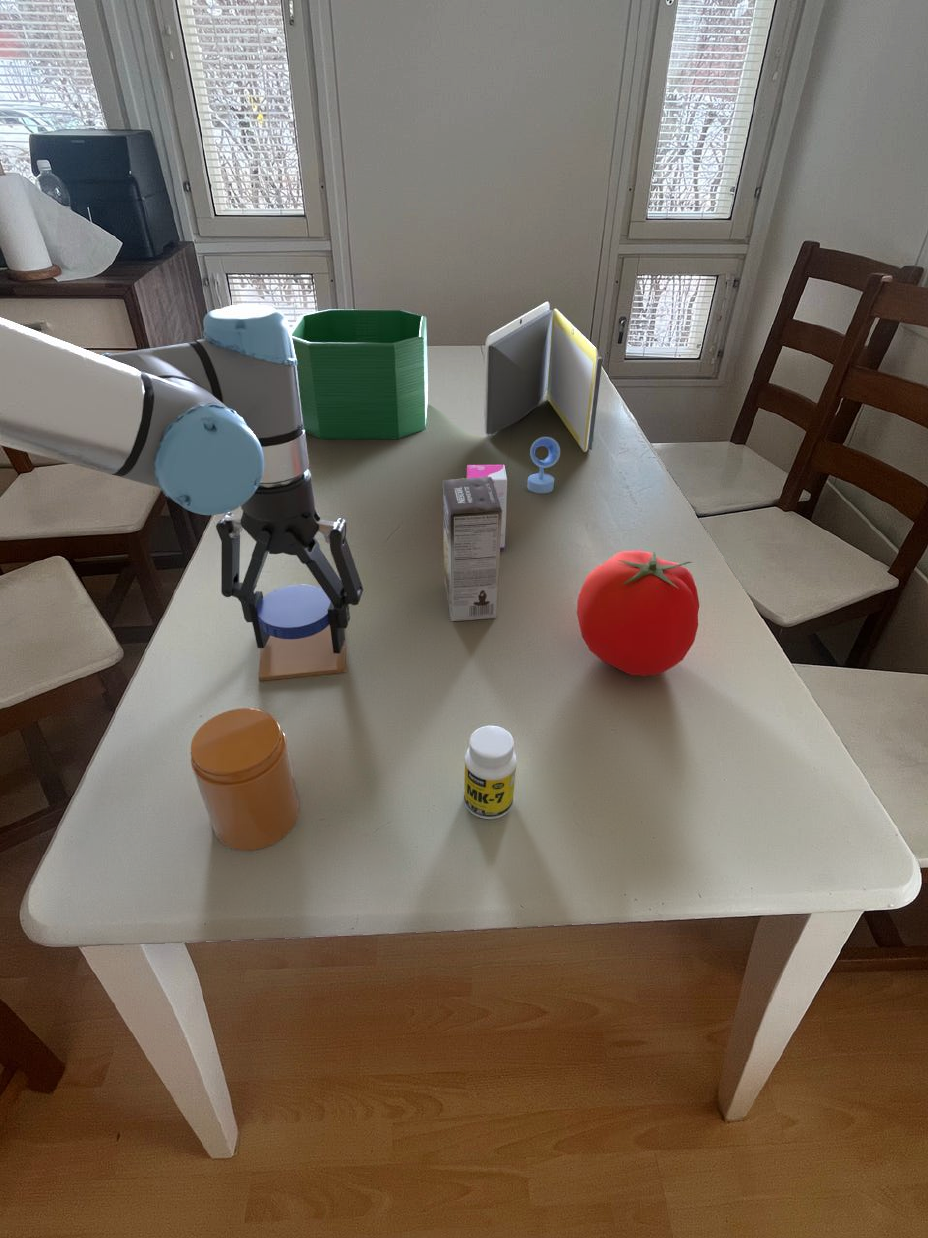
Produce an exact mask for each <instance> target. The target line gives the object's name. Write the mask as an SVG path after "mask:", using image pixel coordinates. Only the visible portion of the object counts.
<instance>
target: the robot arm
mask: <svg viewBox="0 0 928 1238" xmlns="http://www.w3.org/2000/svg"><path fill="white" fill-rule="evenodd" d="M202 322H203V323H202V324H203V331H202V336H203V338H201V339H197V340H193V341H190V342H186V343H178V344H171V345H165V346H164V345H163V346H157V347H150V348H143V349H137V350H130V351H124V352H116V353H109V352H104V353H102V354H98V353H95V352H93V351H90V350H87V349H85V348H82V347H79V346H77V345H75V344H71V343H69V342H66V341H64V340H61V339H58V338H56V337H53V336H51V335H48V334H45V333H43V332H40V331H38V330H35V329H33V328H29V327H27V326H25V325H21V324H19V323H16V322H14V321H11V320H8V319H6V318H4V317H1V316H0V446H2V447H6V448H10V449H13V450H16V451H17V450H18V451H22V452H25V453H29V454H32V455H37V456H39V457H43V458H48V459H52V460H55V461H58V462H63V463H66V464H70V465H74V466H77V467H81V468H86V469H89V470H93V471H97V472H100V473H105V474H108V475H111V476H115V477H119V478H123V479H127V480H130V481H133V482H137V483H139V484H140V483H141V484H143V485H147V486H152V487H155V488H159V489H160V491H161V492H162V493H163V494H164V496H165V497H167V498H168V499H169V500H172V501H173V502H174V503H176V504H178V505H179V506H181V507H182V508H183V509H185V510H187V511H189V512H192V513H194V514H198V515H202V516H203V515H204V516H217V515H222V517H221V518H220V519H219V521H218V522H217V523H216V525H215V529H216V531H217V534H218V536H219V539H220V541H221V549H220V550H221V561H220V562H221V563H220V564H221V565H220V567H221V573H220V575H221V576H220V577H221V582H220V583H221V585H220V587H221V588H220V589H221V590H220V591H221V595H222V596H223V597H225V598H231V597H234V598H236V599H238V601H239V602H240V605H241V610H242V613H243V618H244V620H245V622H246V623H251V624H252V629H253V632H254V637H255V641H256V647H257V649H261V648H264V647H265V645H266V643H267V641H268V639H269V637H270V635H268V634H267V633H265V632H264V631H263V630H262V628H261V626H260V625H259V623H258V618H257V617H258V614H257V607H258V604H259V603H260V601H261V599H262V598H263V597H264V593H263V591H261V590H256V588H257V586H258V582H259V579H260V577H261V574H262V571H263V569H264V566H265V563H266V560H267V557H268V555H279V554H285V555H288V556H296V558H298V560H299V562H300V563H301V564H302V565H305V566H306V567H307V569H308V570H309V572H310V573H311V575H312V576H313V578H314V579H315V580H316V582H317V584H319V586H320V588H322V589H323V591H324V592H325V593H326V595H327V596H328V598H329V599H330V601H331V603H330V605H329V608H328V616H329V623H330V630H331V638H332V645H333V653H338V654H340V652H341V649H342V646H343V643H344V644H345V641H346V637H345V629H347V627H348V625H349V623H350V620H351V612H350V605H351V606H357V605H359V603H360V601H361V597H362V595H363V592H364V587H363V584H362V581H361V577H360V574H359V572H358V569H357V566H356V563H355V560H354V557H353V553H352V551H351V547H350V545H349V542H348V539H347V521H346V520H345V519H344V518H342V517H339V518H336V519H335V521H331V520H326V519H322V518H321V516H320V515H319V513H318V512H317V510H316V505H315V496H314V489H313V482H312V474H311V471H310V469H308V468H309V467H310V462H309V461H310V460H309V453H308V452H309V451H308V446H307V445H308V444H307V438H306V432H305V429H304V424H303V419H302V410H301V401H300V392H299V383H298V375H297V366H296V365H297V359H296V356H295V351H294V345H293V340H292V335H291V332H290V330H291V328H290V323H289V321H288V319H287V317H286V316H285V315H284V314H283V313H282V312H281V311H279V310H277V309H276V308H274V307H271V306H267V305H260V304H236V305H229V306H228V305H227V306H223V307H221V308H219V309H218V308H217V309H212V310H210V311H209V312H207V313H206V314H205V315H204V318H203V321H202ZM238 508H241V510H242V514H241V515H234V513H233V512H232V511H234V510H235V511H236V510H237V509H238ZM243 530H244V531H245V532H246V533H247V534H248V535H249V537H251V538H252V539H253V540H254V541H255V545H254V548H253V550H252V554H251V559H250V560H249V561H250V562H249V564H248V567H247V570H246V572H245V576H244V578H243V581H242V582H241V581H240V564H241V561H240V559H241V533H242V531H243ZM317 533H321V534H322V535H323V538H324V541H325V543H327V544H329V550H330V554H331V556H332V560H333V562H334V565H335V567H336V570H337V572H336V571H335V569H334V567H333V566H332V565H331V563H330V562H329V560H328V559H327V557H326V555H325V554H324V552H323V551H322V549H321V545H320V542H319V541H318V539H317V538H316V535H317ZM337 573H338V574H337Z"/></svg>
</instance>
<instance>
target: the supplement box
mask: <svg viewBox="0 0 928 1238" xmlns="http://www.w3.org/2000/svg"><path fill="white" fill-rule="evenodd" d="M480 477H491V478H492V480H493V483H494V486H495V489H496V492H497V495H498V498H499V502H500V504H501V507H502V526H501V545H500V552H501V551H502V552H503V551H504V552H505V547H506V546H505V544H506V526H507V525H506V522H507V521H506V520H507V496H508V495H507V494H508V477H507V472H506V465H505V464H467V465H466V478H480Z"/></svg>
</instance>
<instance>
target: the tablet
mask: <svg viewBox="0 0 928 1238" xmlns="http://www.w3.org/2000/svg"><path fill="white" fill-rule="evenodd" d="M550 307H551V306H550V302H549V301H546V302H544V303H541V304H540V305H539V306H537V307H535V308H534V309H531V310H530V311H528V312H526V313H524V314H523V315H521V316H519V317H517V318H516V319H514V320H512V321H510V322H509V323H507V324H506V325H504V326H501V327H500V328H499V329H497V330H494V331H493V332H492V333H490V334H488V335H487V336H486V339H485V348H484V349H485V350H484V351H485V352H484V355H485V356H484V357H485V358H484V400H483V401H484V403H483V405H484V406H483V407H484V409H483V434H484V436H489V435H494V434H496V433H498V432H500V431H501V430H503V429H505V428H507V427H509V426H511V425H513V424H514V423H517V422H519V421H520V420H521V419H523V418H524V417H525V416H526V415H528V414H529V413H530V412H532V410H533V409H535V408H536V407H537V406H538V405H539V404H540V402H541V401H542V399H543V397H544V395H545V394H546V398H547V400H548V402H549V403H550V405H551V407H552V408H553V409H554V411H555V412H556V414H557V415H558V416H559V418H560V419H561V421H562V423H563V424H564V425H565V426H566V428H567V430H568V431H569V432H570V434H571V436H572V437H573V439H574V440H575V441H576V443H577V444H578V446H579V447H580V449H581V450H582V452H584V453H585V452H587V451H591V450H592V449H593V441H594V435H595V426H596V416H597V409H598V401H599V400H598V399H599V392H600V383H601V376H602V375H601V374H602V367H603V358H602V357H601V356H600V355H599V350H598V349H597V347H596V346H595V345H594V344H593V343H591V341H590V340H589V339H587V338H586V336H585V335H584V334H582V333H581V331H579V330H578V329H577V327H575V326H574V325H573V324H572V322H570V320H568V319H567V317H565V316H564V315H563V314H562V313H561V312H560V311H559V310H558V309H557V308H554V309H553V310H552V309H550Z"/></svg>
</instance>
